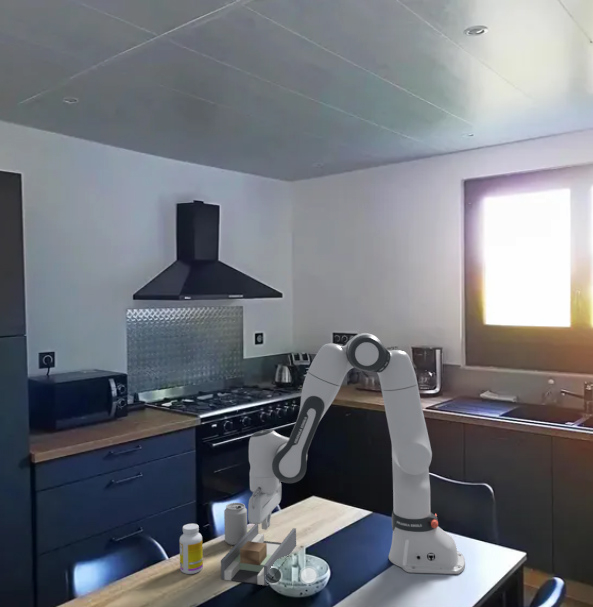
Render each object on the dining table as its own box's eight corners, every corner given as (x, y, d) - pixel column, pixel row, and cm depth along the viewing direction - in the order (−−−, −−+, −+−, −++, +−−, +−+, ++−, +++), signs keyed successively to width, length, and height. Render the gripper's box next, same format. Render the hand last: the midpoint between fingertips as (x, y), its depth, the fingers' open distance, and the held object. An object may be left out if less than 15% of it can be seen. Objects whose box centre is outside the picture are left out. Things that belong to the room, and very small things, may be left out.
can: (246, 546, 191) (245, 509, 190) (223, 546, 191) (222, 509, 191) (248, 536, 198) (248, 501, 198) (226, 537, 198) (225, 501, 198)
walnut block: (266, 556, 177) (266, 543, 177) (259, 565, 171) (259, 551, 171) (248, 554, 179) (247, 541, 179) (240, 562, 173) (240, 549, 173)
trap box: (296, 545, 191) (296, 528, 191) (267, 585, 164) (267, 565, 164) (255, 540, 195) (255, 524, 195) (221, 579, 169) (220, 560, 168)
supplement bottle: (207, 566, 176) (206, 524, 176) (194, 576, 170) (193, 532, 170) (188, 562, 179) (188, 520, 179) (175, 572, 173) (174, 528, 173)
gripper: (262, 494, 171) (264, 542, 171) (284, 473, 191) (285, 516, 191) (241, 493, 173) (243, 540, 173) (265, 472, 193) (267, 515, 193)
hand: (266, 527), depth 182 cm, fingers closed
